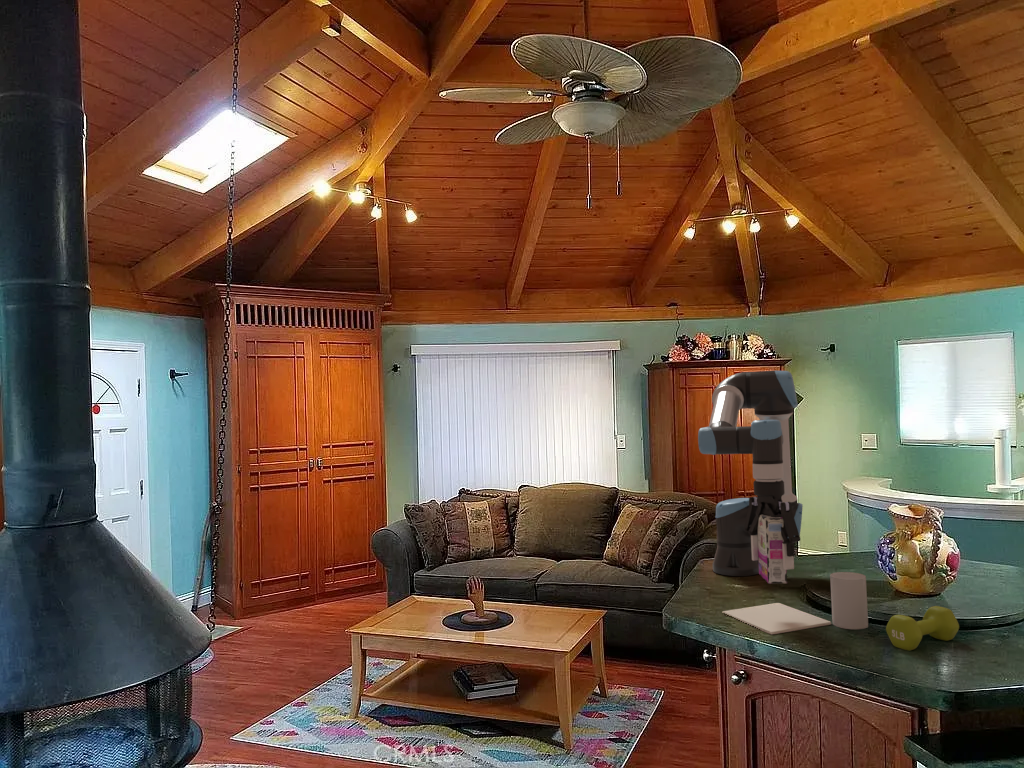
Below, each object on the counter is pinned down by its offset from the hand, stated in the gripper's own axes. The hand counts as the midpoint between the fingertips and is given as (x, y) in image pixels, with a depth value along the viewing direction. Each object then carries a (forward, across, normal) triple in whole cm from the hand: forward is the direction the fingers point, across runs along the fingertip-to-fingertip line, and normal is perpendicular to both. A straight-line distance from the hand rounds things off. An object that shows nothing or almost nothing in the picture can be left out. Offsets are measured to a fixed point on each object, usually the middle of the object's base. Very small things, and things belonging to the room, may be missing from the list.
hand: (772, 564), depth 198 cm
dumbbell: (+14, -30, -17) cm, 37 cm away
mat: (+14, 0, 0) cm, 14 cm away
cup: (+14, -12, -13) cm, 23 cm away
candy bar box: (+4, 0, 0) cm, 4 cm away
